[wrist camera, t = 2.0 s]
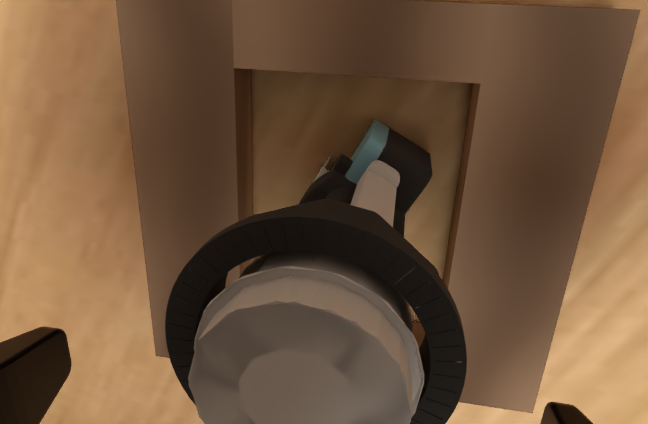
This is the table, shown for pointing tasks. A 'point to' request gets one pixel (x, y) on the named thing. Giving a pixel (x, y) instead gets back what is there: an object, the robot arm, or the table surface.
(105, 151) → the table surface
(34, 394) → the robot arm
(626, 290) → the table surface
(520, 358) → the board
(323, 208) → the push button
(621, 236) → the table surface
